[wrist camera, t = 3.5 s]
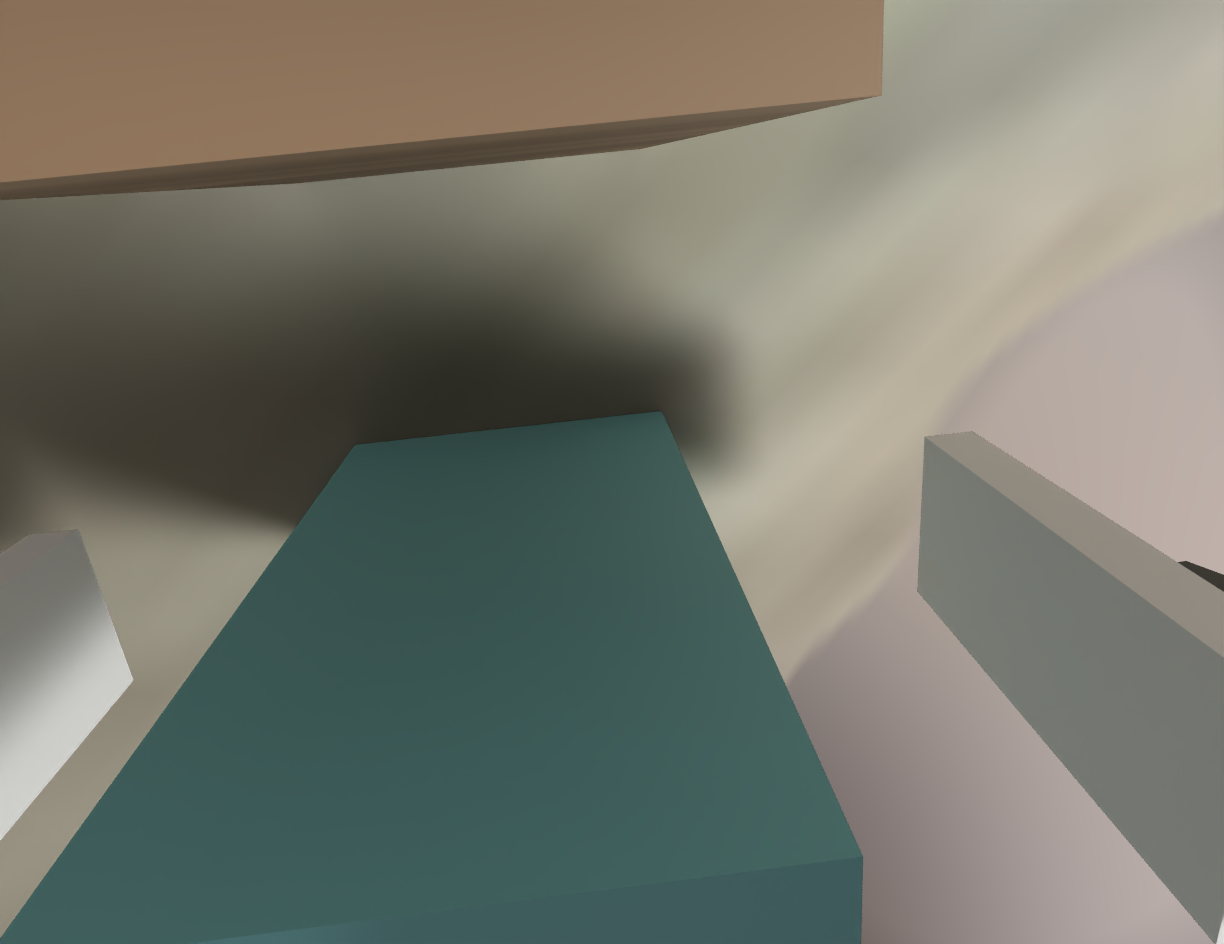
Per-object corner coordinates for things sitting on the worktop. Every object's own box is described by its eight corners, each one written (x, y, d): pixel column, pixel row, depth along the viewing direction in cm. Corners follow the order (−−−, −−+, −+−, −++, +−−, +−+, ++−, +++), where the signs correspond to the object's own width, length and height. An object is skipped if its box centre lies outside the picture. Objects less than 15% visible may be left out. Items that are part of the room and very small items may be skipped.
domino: (642, 148, 14) (881, 96, 4) (297, 183, 14) (-414, 223, 4) (631, 5, 13) (895, -538, 3) (265, 40, 13) (-749, -417, 3)
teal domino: (669, 513, 17) (859, 1070, 6) (377, 546, 16) (85, 1175, 6) (661, 411, 16) (863, 856, 6) (355, 444, 16) (-23, 970, 5)
